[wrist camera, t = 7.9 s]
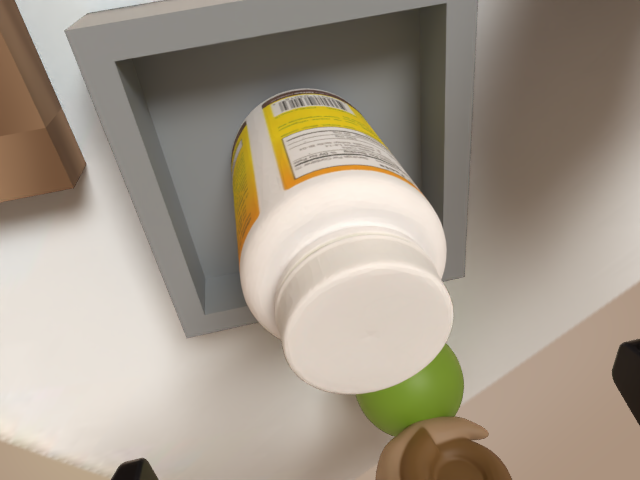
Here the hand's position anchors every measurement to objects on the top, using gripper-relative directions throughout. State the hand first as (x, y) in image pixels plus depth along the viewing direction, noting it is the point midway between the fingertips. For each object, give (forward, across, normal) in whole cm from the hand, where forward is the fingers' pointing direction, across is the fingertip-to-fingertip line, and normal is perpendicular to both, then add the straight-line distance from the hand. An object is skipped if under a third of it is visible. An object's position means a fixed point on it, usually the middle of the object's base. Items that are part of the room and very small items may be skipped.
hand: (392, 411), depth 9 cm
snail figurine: (+13, -3, +12) cm, 18 cm away
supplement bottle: (+12, 0, 0) cm, 13 cm away
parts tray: (+13, 0, 0) cm, 13 cm away
